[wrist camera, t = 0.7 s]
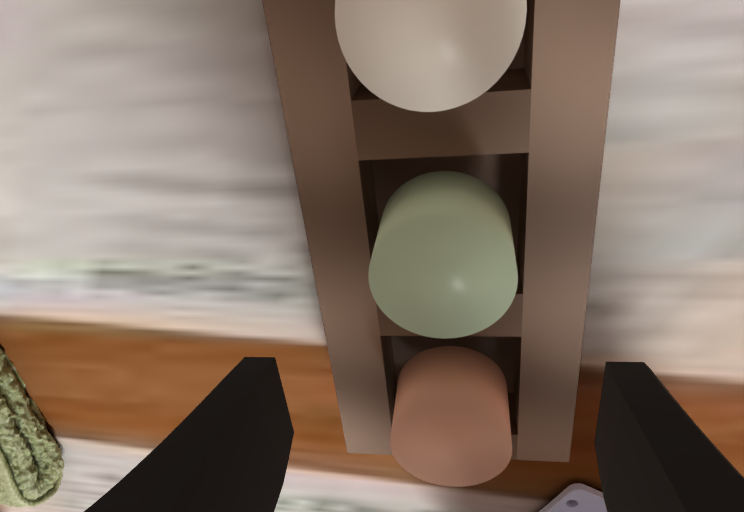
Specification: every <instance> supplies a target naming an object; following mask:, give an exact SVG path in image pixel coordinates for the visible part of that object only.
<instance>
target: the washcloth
mask: <svg viewBox="0 0 744 512" xmlns="http://www.w3.org/2000/svg"><path fill="white" fill-rule="evenodd" d="M63 468H64V461H63V459H62V457H61V449H60V448H59V447H58V444H57V443H56V442H55V440H54V439H53V437H52V436H51V434H49V433H48V430H47V428H46V425H45V421H44V419H43V417H42V415H41V413H40V411H39V409H38V407H37V405H36V403H35V402H34V401H33V400H32V399H31V398H30V397H29V396H28V395H27V394H26V391H25V384H24V382H23V381H22V379H21V378H20V376H19V374H18V373H17V370H16V368H15V367H14V365H13V364H12V363H11V362H10V360H9V359H8V357H7V355H6V353H5V352H4V351H3V350H2V349H1V347H0V505H1V504H4V505H8V506H11V507H12V506H14V507H29V506H33V507H34V506H37V505H39V504H41V503H43V502H45V501H46V500H48V499H49V498H50V497H52V496H53V495H54V494H55V493H56V492H57V490H58V488H59V486H60V484H61V479H62V476H63V474H62V471H63Z"/></svg>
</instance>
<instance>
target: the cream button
mask: <svg viewBox="0 0 744 512" xmlns="http://www.w3.org/2000/svg"><path fill="white" fill-rule="evenodd" d="M526 14H527V0H335V26H336V32H337V37H338V41H339V44H340V47H341V50H342V53H343V55H344V57H345V59H346V62H347V63H348V65H349V67H350V68H351V70H352V71H353V73H354V74H355V76H356V77H357V78H358V79H359V81H360V82H361V83H362V84H363V85H364V86H365V87H366V88H367V89H368V90H369V91H371V92H372V93H373V94H375V95H376V96H377V97H379V98H381V99H382V100H384V101H386V102H388V103H390V104H392V105H395V106H397V107H400V108H403V109H407V110H411V111H419V112H436V111H444V110H448V109H452V108H456V107H459V106H461V105H464V104H466V103H468V102H470V101H472V100H474V99H476V98H478V97H479V96H480V95H482V94H483V93H485V92H486V91H487V90H488V89H490V88H491V87H492V86H493V85H494V84H495V83H496V82H497V81H498V80H499V79H500V77H501V76H502V75H503V74H504V73H505V71H506V70H507V68H508V67H509V65H510V64H511V62H512V61H513V59H514V57H515V55H516V53H517V51H518V48H519V46H520V43H521V40H522V37H523V33H524V28H525V24H526Z"/></svg>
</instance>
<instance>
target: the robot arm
mask: <svg viewBox="0 0 744 512" xmlns="http://www.w3.org/2000/svg"><path fill="white" fill-rule="evenodd" d="M293 434H294V431H293V427H292V423H291V419H290V415H289V411H288V407H287V403H286V399H285V395H284V391H283V387H282V383H281V379H280V375H279V371H278V367H277V364H276V360H275V358H274V357H244V358H243V359H242V361H241V362H240V363H239V364H238V365H237V366H236V367H235V368H234V369H233V370H232V371H231V372H230V373H229V374H228V375H227V376H226V377H225V378H224V379H223V380H222V381H221V382H220V383H219V384H218V385H217V386H216V387H215V388H214V389H213V390H212V391H211V393H210V394H209V395H208V396H207V397H206V398H205V399H204V400H203V401H202V402H201V403H200V404H199V405H198V406H197V407H196V408H195V409H194V410H193V411H192V412H191V413H190V414H189V415H188V416H187V417H186V418H185V419H184V420H183V421H182V422H181V423H180V424H179V425H178V426H177V427H176V428H175V429H174V430H173V431H172V432H171V433H170V434H169V435H168V436H167V437H166V438H165V439H164V440H163V441H162V442H161V443H160V444H159V445H158V446H157V447H156V448H155V449H154V450H153V451H152V452H151V453H150V454H149V455H148V456H147V457H146V458H144V459H143V460H142V461H141V462H140V463H139V464H138V465H137V466H136V467H135V468H134V469H133V470H132V471H130V472H129V473H128V474H127V475H126V476H125V477H124V478H123V479H122V480H121V481H120V482H119V483H117V484H116V485H115V486H114V487H113V488H112V489H111V490H109V491H108V492H107V493H106V494H105V495H104V496H102V497H101V498H100V499H99V500H98V501H96V502H95V503H94V504H93V505H92V506H90V507H89V508H88V509H87V510H85V511H84V512H274V510H275V507H276V504H277V501H278V498H279V495H280V492H281V489H282V486H283V482H284V478H285V473H286V469H287V464H288V460H289V454H290V449H291V444H292V439H293ZM595 449H596V455H597V462H598V468H599V474H600V480H601V486H602V491H603V492H600V491H598V490H596V489H593V488H591V487H589V486H587V485H584V484H581V483H575V484H571V485H569V486H568V487H567V488H566V489H564V490H563V491H562V492H561V493H560V494H559V495H558V496H556V497H555V498H554V499H553V500H552V501H551V502H550V503H548V504H547V505H546V506H545V507H544V508H543V509H542V510H540V511H539V512H744V477H743V476H742V475H741V474H740V473H739V472H738V471H737V470H736V469H735V468H734V467H733V465H732V464H731V463H730V462H729V461H728V460H727V459H726V458H725V457H724V456H723V454H722V453H721V452H720V451H719V450H718V449H717V448H716V447H715V446H714V445H713V443H712V442H711V441H710V440H709V439H708V438H707V437H706V435H705V434H704V433H703V432H702V431H701V430H700V429H699V427H698V426H697V425H696V424H695V423H694V422H693V420H692V419H691V418H690V417H689V416H688V414H687V413H686V412H685V411H684V410H683V409H682V407H681V406H680V405H679V404H678V402H677V401H676V400H675V399H674V398H673V396H672V395H671V394H670V393H669V391H668V390H667V389H666V388H665V387H664V385H663V384H662V383H661V382H660V380H659V379H658V378H657V377H656V375H655V374H654V373H653V372H652V370H651V369H650V368H649V367H648V366H647V365H646V364H645V363H644V362H606V365H605V372H604V379H603V386H602V393H601V401H600V408H599V415H598V422H597V429H596V436H595Z"/></svg>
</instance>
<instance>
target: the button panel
mask: <svg viewBox="0 0 744 512" xmlns="http://www.w3.org/2000/svg"><path fill="white" fill-rule="evenodd" d="M262 1H263V6H264V12H265V17H266V22H267V28H268V33H269V38H270V44H271V49H272V54H273V60H274V65H275V70H276V75H277V81H278V86H279V91H280V97H281V102H282V107H283V113H284V118H285V123H286V129H287V134H288V139H289V144H290V150H291V155H292V160H293V166H294V171H295V176H296V182H297V187H298V192H299V198H300V203H301V208H302V213H303V219H304V224H305V229H306V235H307V240H308V245H309V251H310V256H311V261H312V267H313V272H314V277H315V282H316V288H317V293H318V298H319V304H320V309H321V314H322V320H323V325H324V330H325V336H326V341H327V346H328V352H329V357H330V362H331V367H332V373H333V378H334V383H335V389H336V394H337V399H338V405H339V410H340V415H341V421H342V426H343V431H344V436H345V442H346V447H347V452H348V453H360V454H384V455H393V454H392V451H391V447H390V436H391V429H392V421H393V414H394V407H395V399H396V392H397V385H398V378H399V374H400V371H401V369H402V368H403V366H404V365H405V363H406V362H407V361H408V360H409V359H410V358H412V357H413V356H415V355H416V354H418V353H420V352H422V351H424V350H427V349H430V348H434V347H441V346H458V347H464V348H468V349H472V350H475V351H477V352H480V353H482V354H484V355H485V356H487V357H488V358H490V359H491V360H492V361H494V362H495V363H496V364H497V365H498V366H499V368H500V369H501V370H502V372H503V374H504V376H505V379H506V383H507V393H508V404H509V416H510V427H511V439H512V456H511V459H510V460H529V461H553V462H569V459H570V450H571V441H572V432H573V423H574V414H575V405H576V396H577V387H578V378H579V369H580V360H581V351H582V342H583V333H584V324H585V315H586V305H587V296H588V287H589V278H590V269H591V260H592V251H593V242H594V233H595V224H596V215H597V206H598V197H599V188H600V179H601V170H602V161H603V152H604V143H605V134H606V125H607V116H608V107H609V98H610V89H611V80H612V71H613V62H614V53H615V44H616V35H617V26H618V17H619V8H620V0H527V14H526V24H525V28H524V33H523V37H522V40H521V43H520V46H519V48H518V51H517V53H516V55H515V57H514V59H513V61H512V62H511V64H510V65H509V67H508V68H507V70H506V71H505V73H504V74H503V75H502V76H501V77H500V79H499V80H498V81H497V82H496V83H495V84H494V85H493V86H492V87H491V88H490V89H488V90H487V91H486V92H485V93H483V94H482V95H480V96H479V97H478V98H476V99H474V100H472V101H470V102H468V103H466V104H464V105H461V106H459V107H456V108H452V109H448V110H444V111H436V112H419V111H411V110H407V109H403V108H400V107H397V106H395V105H392V104H390V103H388V102H386V101H384V100H382V99H381V98H379V97H377V96H376V95H375V94H373V93H372V92H371V91H369V90H368V89H367V88H366V87H365V86H364V85H363V84H362V83H361V82H360V81H359V79H358V78H357V77H356V76H355V74H354V73H353V71H352V70H351V68H350V67H349V65H348V63H347V62H346V59H345V57H344V55H343V53H342V50H341V47H340V44H339V41H338V37H337V32H336V26H335V0H262ZM436 171H454V172H461V173H464V174H468V175H471V176H473V177H476V178H478V179H480V180H481V181H483V182H485V183H486V184H488V185H489V186H490V187H492V188H493V189H494V190H495V191H496V192H497V193H498V195H499V196H500V197H501V199H502V200H503V202H504V204H505V206H506V208H507V210H508V213H509V217H510V222H511V229H512V236H513V243H514V250H515V257H516V265H517V272H518V284H517V290H516V294H515V297H514V299H513V301H512V304H511V305H510V307H509V308H508V310H507V311H506V312H505V313H504V315H503V316H502V317H501V318H500V319H498V320H497V321H496V322H495V323H494V324H492V325H491V326H489V327H488V328H486V329H484V330H482V331H480V332H477V333H474V334H472V335H468V336H464V337H458V338H445V339H444V338H432V337H426V336H422V335H419V334H416V333H413V332H410V331H408V330H406V329H404V328H402V327H400V326H399V325H397V324H396V323H394V322H393V321H392V320H391V319H389V318H388V317H387V316H386V315H385V314H384V313H383V312H382V310H381V309H380V308H379V306H378V305H377V303H376V301H375V300H374V298H373V295H372V293H371V290H370V285H369V277H368V273H369V265H370V261H371V257H372V253H373V249H374V245H375V241H376V237H377V234H378V230H379V226H380V222H381V218H382V214H383V210H384V208H385V206H386V204H387V202H388V200H389V199H390V197H391V196H392V195H393V194H394V192H395V191H396V190H397V189H398V188H399V187H401V186H402V185H403V184H405V183H406V182H407V181H409V180H411V179H413V178H415V177H417V176H420V175H423V174H426V173H430V172H436Z"/></svg>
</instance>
